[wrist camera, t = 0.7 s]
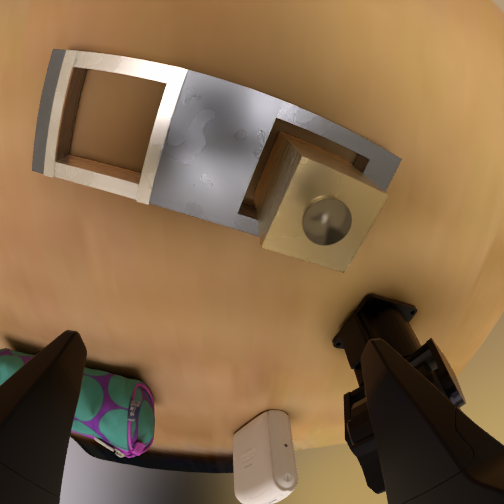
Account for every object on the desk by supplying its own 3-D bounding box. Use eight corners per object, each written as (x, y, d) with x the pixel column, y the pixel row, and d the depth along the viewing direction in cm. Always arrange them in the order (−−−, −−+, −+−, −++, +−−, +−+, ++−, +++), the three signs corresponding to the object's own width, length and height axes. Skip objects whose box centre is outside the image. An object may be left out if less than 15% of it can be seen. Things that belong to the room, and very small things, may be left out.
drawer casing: (388, 151, 17) (403, 159, 16) (337, 249, 21) (345, 265, 19) (67, 50, 12) (51, 49, 11) (45, 162, 16) (30, 171, 14)
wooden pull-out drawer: (343, 157, 18) (390, 197, 12) (314, 215, 20) (345, 275, 14) (279, 130, 17) (303, 157, 11) (253, 194, 19) (261, 250, 13)
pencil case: (149, 363, 28) (133, 446, 19) (159, 403, 32) (150, 471, 24) (1, 331, 25) (-30, 389, 17) (27, 373, 30) (5, 426, 22)
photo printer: (265, 406, 33) (274, 498, 22) (293, 411, 34) (306, 497, 24) (228, 433, 37) (230, 509, 27) (253, 438, 39) (258, 510, 28)
